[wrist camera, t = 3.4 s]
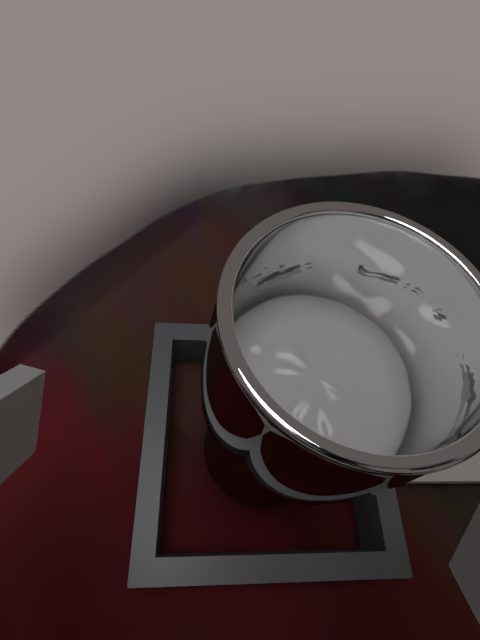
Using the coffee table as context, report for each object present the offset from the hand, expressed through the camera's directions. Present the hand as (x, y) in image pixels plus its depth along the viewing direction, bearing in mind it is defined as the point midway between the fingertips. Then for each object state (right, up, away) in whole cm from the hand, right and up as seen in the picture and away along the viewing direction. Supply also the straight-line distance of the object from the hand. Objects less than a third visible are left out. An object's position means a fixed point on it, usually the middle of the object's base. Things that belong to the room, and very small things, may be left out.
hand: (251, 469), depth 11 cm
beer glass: (+1, -3, +10) cm, 11 cm away
